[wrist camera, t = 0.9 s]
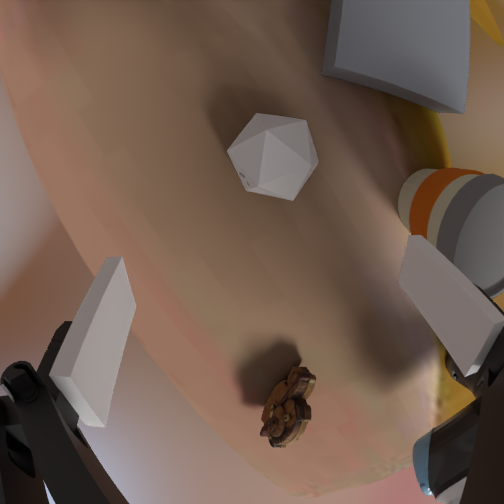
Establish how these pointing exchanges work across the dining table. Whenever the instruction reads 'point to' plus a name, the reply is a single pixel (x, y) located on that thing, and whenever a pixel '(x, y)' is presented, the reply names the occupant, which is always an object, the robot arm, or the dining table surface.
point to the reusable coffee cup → (459, 220)
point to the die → (274, 155)
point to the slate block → (402, 49)
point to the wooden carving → (288, 408)
